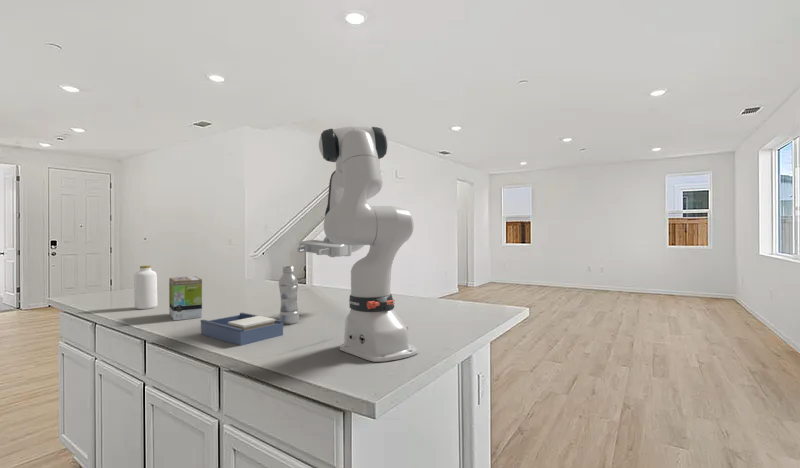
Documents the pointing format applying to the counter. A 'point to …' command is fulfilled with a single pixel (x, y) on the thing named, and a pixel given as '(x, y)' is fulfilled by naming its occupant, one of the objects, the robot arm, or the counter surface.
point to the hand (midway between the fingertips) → (308, 251)
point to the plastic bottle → (288, 296)
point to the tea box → (185, 297)
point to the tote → (240, 330)
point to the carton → (252, 322)
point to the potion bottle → (145, 288)
